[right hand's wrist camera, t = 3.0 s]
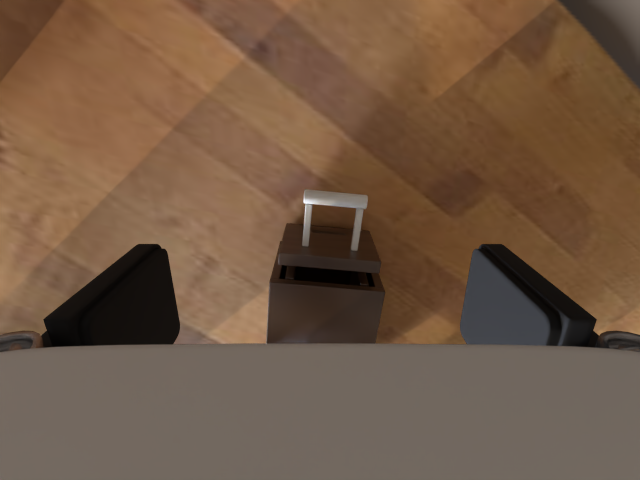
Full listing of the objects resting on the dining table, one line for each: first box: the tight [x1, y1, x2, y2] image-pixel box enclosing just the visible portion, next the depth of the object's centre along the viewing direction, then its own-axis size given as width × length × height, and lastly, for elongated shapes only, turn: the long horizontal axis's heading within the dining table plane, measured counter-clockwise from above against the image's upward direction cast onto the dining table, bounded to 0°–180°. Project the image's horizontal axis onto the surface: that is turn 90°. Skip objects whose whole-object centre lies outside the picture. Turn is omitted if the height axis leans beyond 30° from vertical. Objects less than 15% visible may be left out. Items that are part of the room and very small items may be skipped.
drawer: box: [278, 189, 381, 287], centre depth 37 cm, size 22×9×8 cm, turn 174°
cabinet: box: [266, 241, 385, 344], centre depth 39 cm, size 18×10×10 cm, turn 174°
